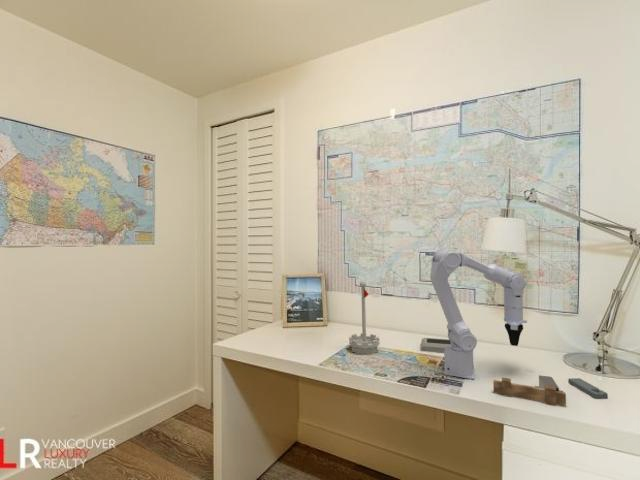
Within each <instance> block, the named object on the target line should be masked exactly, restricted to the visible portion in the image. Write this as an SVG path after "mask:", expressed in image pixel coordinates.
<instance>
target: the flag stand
mask: <svg viewBox="0 0 640 480" xmlns="http://www.w3.org/2000/svg"><path fill="white" fill-rule="evenodd" d="M359 287H360V288H361V326H362V328H361V329H362V332H360V335H357V334H356V333H353V334H351V336H349V337H348V342H349V345H350V346H351V351H352V352H353V353H355V354H359V355H372V354H374V353H377V352H378V346H380V337H379V336H377V335H376V334H374V333H371V334H370V335H367V326H366V325H367V324H366V322H367V321H366V316H367V315H366V314H367V313H366V298H367V297H368V296H369V293H368V291H367V290H366V287H367V282H366V281H365V280H362V281H360V282H359Z"/></svg>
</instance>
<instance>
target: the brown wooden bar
mask: <svg viewBox="0 0 640 480" xmlns="http://www.w3.org/2000/svg"><path fill="white" fill-rule="evenodd" d="M492 384H493V385H492V387H493V388H492V389H493V394H499V395H501V396H506V397H510V398H512V397H514V398H519V399H526V400H530V401H535V402H541V403H545V404H546V405H552V406H559V407H560V406H561V407H567V393H566V392H564V390H561V389H559V391H556V388H555V386H550V385H545V389H543V388H539V385H538V386H537V385H535V386H530V385H525V384H519V383H514V382H512V379H511V378H507V377H501V380H497V379H493V381H492Z"/></svg>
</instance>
